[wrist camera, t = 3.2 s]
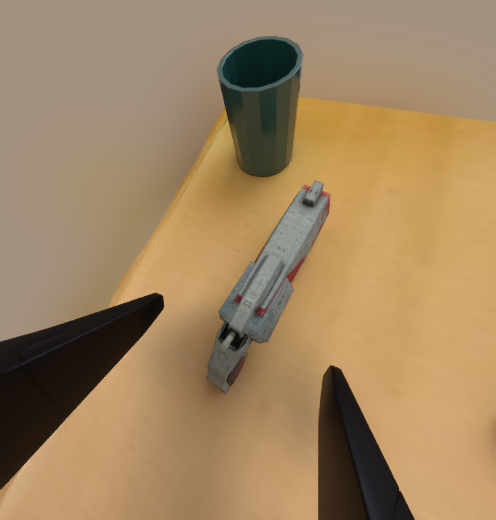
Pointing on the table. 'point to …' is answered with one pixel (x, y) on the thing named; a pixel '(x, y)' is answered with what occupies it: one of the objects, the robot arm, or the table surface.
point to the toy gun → (266, 285)
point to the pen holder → (262, 101)
